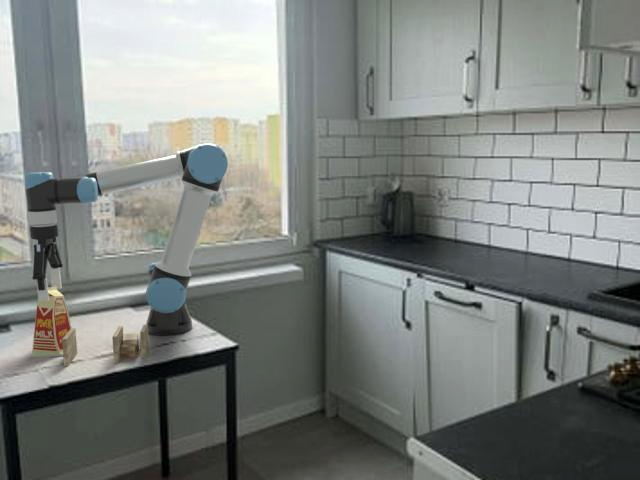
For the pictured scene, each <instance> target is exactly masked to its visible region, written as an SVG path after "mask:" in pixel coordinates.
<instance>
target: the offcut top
mask: <svg viewBox="0 0 640 480" xmlns="http://www.w3.org/2000/svg"><path fill="white" fill-rule="evenodd" d="M138 336H139V335H138V332H131V333H123V347H128V346H137V344H138V339H139V337H138Z"/></svg>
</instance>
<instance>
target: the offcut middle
mask: <svg viewBox="0 0 640 480" xmlns="http://www.w3.org/2000/svg"><path fill="white" fill-rule="evenodd" d="M138 346H139V347H140V342H139V338H138V344H137V346H128V347H123V344H122V345H121V353H135V352H136V350H137V348H138Z"/></svg>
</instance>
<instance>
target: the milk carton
mask: <svg viewBox="0 0 640 480" xmlns="http://www.w3.org/2000/svg"><path fill="white" fill-rule="evenodd" d="M48 294H49V300H48V301H38V300H37V305H36V311H35V318H34V319H35V320H34V330H33V338H32V339H33V340H32V351H31V353H32V352H37V353H49V354H61V353H62V352H63V344H62V339H63V338H64V336H65V335H66V334H67V333H68V331H69V330H70V329H71V328H72V323H71V320H70V319H71V318H70V314H69V310H68V305H67V303H66V299H65V295H63V294H62V293H61V292H60V291H59V289H57V286H55V287H52V286H51V287H49V286H48Z"/></svg>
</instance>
